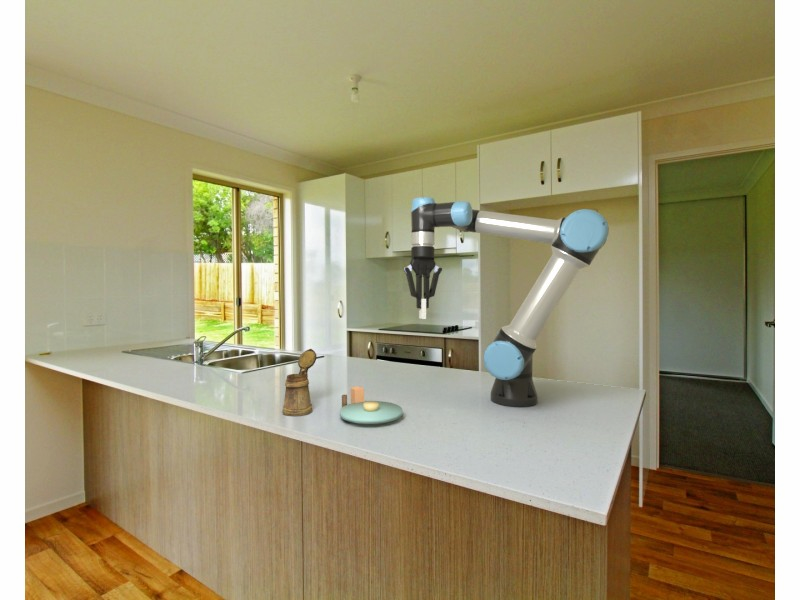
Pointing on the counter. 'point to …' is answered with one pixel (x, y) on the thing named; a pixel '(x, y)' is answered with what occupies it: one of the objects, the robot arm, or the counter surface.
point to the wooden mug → (299, 387)
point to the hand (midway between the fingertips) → (422, 318)
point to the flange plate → (371, 416)
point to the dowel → (344, 400)
